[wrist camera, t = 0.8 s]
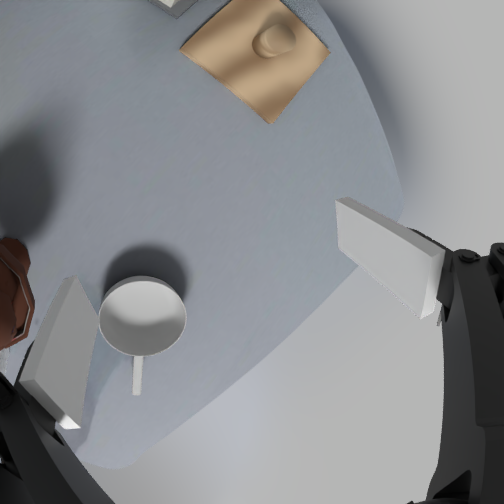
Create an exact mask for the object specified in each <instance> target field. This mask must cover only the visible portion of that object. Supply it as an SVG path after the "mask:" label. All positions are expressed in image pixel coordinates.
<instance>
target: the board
mask: <svg viewBox="0 0 504 504" xmlns="http://www.w3.org/2000/svg"><path fill="white" fill-rule="evenodd" d="M277 24H281V25H285V26H287V27H289V28H290V29H291V30H292V31H293V32H294V34H295V37H296V44H295V47H294V48H293V49H292V50H290V51H287V52H285V53H282V54H280V55H277V56H275V57H272V58H269V59H265V58H261V57H259V56H258V55H257V54H256V53H255V52H254V50H253V48H252V41H253V39H254V37H255V36H257V35H258V34H260V33H262V32H264V31H265V30H267V29H269V28H271V27H272V26H274V25H277ZM179 51H180V52H181V53H183V54H184V55H186V56H187V57H188V58H190V59H191V60H192V61H194V62H195V63H196V64H198V65H199V66H200V67H202V68H203V69H204V70H205V71H207V72H208V73H209V74H210V75H212V76H213V77H214V78H216V79H217V80H218V81H219V82H220V83H222V84H223V85H224V86H225V87H227V88H228V89H229V90H230V91H231V92H233V93H234V94H235V95H236V96H237V97H239V98H240V99H241V100H242V101H243V102H244V103H246V104H247V105H248V106H249V107H250V108H251V109H253V110H254V111H255V112H256V113H257V114H258V115H259V116H260V117H262V118H263V119H264V120H265V121H266V122H267V123H268V124H269V123H274V121H275V120H276V119H277V118H278V116H279V115H280V114H281V112H282V111H283V110H284V109H285V107H286V106H287V105H288V104H289V102H290V101H291V100H292V99H293V97H294V96H295V95H296V94H297V92H298V91H299V90H300V89H301V87H302V86H303V85H304V84H305V83H306V81H307V80H308V79H309V78H310V76H311V75H312V74H313V73H314V72H315V70H316V69H317V68H318V67H319V66H320V65H321V63H322V62H323V61H324V60H325V59H326V57H327V56H328V55H329V54H330V53H331V52H330V51H329V50H328V49H327V48H326V47H325V46H324V45H323V43H322V42H321V41H320V40H319V39H318V38H317V37H316V36H315V35H314V34H313V33H312V32H311V31H310V30H309V29H308V28H307V26H306V25H305V24H304V23H303V22H302V21H301V20H300V19H299V18H298V17H297V16H295V15H294V14H293V13H292V12H291V11H290V10H289V9H288V8H287V7H286V6H285V5H284V4H283V3H282V2H281V1H279V0H232V1H231V2H230V3H229V4H228V5H226V6H225V7H224V8H223V9H222V10H221V11H219V12H218V13H217V14H216V15H215V16H214V17H213V18H211V19H210V20H209V21H208V22H207V23H206V24H205V25H204V26H203V27H202V28H201V29H200V30H199V31H198V32H197V33H196V34H194V35H193V36H192V37H191V38H190V39H189V40H188V41H187V42H186V43H185V44H184V46H183V47H182V48H181V49H180V50H179Z"/></svg>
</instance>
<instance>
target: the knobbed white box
mask: <svg viewBox="0 0 504 504" xmlns="http://www.w3.org/2000/svg"><path fill="white" fill-rule="evenodd" d="M159 1H161V2H163V3H164V4H166V5H167V6H169V7H170V8H171V7H172V6H173V5H175V4H176V3H177V2H178V1H179V0H159Z"/></svg>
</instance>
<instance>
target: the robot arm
mask: <svg viewBox="0 0 504 504" xmlns="http://www.w3.org/2000/svg"><path fill="white" fill-rule="evenodd" d="M335 202H336V215H337V231H338V249H340V250H341V251H342V252H343V253H345V254H346V255H347V256H348V257H349V258H351V259H352V260H353V261H354V262H355V263H357V264H358V265H359V266H360V267H361V268H363V269H364V270H365V271H366V272H367V273H368V274H370V275H371V276H372V277H373V278H374V279H376V280H377V281H378V282H379V283H380V284H381V285H382V286H384V287H385V288H386V289H387V290H388V291H389V292H390V293H392V294H393V295H394V296H395V297H396V298H397V299H398V300H399V301H401V302H402V303H403V304H404V305H405V306H406V307H407V308H408V309H410V310H411V311H412V312H413V313H414V314H415V315H416V316H417V317H418V318H419V319H422V318H424V317H425V316H427V315H429V314H431V313H432V312H433V311H434V308H435V303H436V299H437V300H438V301H440V302H441V303H442V307H441V311H440V315H439V318H438V322H437V326H439V325H440V322H441V321H442V334H443V351H444V404H443V405H444V406H443V421H442V433H441V443H440V452H439V459H438V465H437V468H436V471H435V473H434V475H433V477H432V479H431V482H430V485H429V488H428V492H427V497H426V501H422V502H419V503H415V504H504V243H494V244H492V245H491V249H490V254H489V255H488V256H483V257H481V256H480V255H478V254H477V253H476V252H474V251H471V250H466V249H459V250H456V251H454V252H453V251H451V250H450V249H448V248H446V247H445V246H443V245H441V244H440V243H438V242H436V241H435V240H432V239H431V238H430V237H428V236H425V235H424V234H422V233H421V232H419V231H417V230H414V229H410V228H407V227H404V226H403V225H401V224H399V223H397V222H395V221H394V220H392V219H390V218H388V217H386V216H384V215H383V214H381V213H379V212H377V211H375V210H373V209H371V208H369V207H367V206H365V205H363V204H361V203H359V202H357V201H355V200H353V199H351V198H349V197H345V198H341V199H337V200H335ZM99 321H100V319H99V318H98V316H97V314H96V312H95V310H94V308H93V307H92V305H91V303H90V301H89V299H88V297H87V295H86V293H85V291H84V289H83V288H82V286H81V284H80V282H79V279H78V277H77V275H75V276H72V277H69V278H66V279H64V280H63V282H62V284H61V286H60V288H59V290H58V292H57V294H56V296H55V298H54V300H53V302H52V304H51V306H50V308H49V310H48V312H47V314H46V316H45V318H44V320H43V323H42V325H41V327H40V329H39V332H38V334H37V336H36V339H35V340H34V341H33V342H32V344H31V345H30V346H29V348H28V350H27V352H26V355H25V359H24V360H23V362H22V366H21V367H20V370H19V373H18V375H17V378H16V381H15V384H14V387H13V386H12V384H11V383H10V382H9V381H8V380H7V379H6V377H5V376H4V375H3V374H2V372H0V458H1V463H0V504H115V503H114V502H113V501H112V500H111V499H110V497H108V495H107V494H106V493H105V492H104V491H103V490H102V488H101V487H100V486H99V485H98V484H97V483H96V481H95V480H94V479H93V478H92V476H91V475H90V474H89V473H88V471H87V470H86V469H85V468H84V466H83V465H82V464H81V462H80V461H79V460H78V458H77V457H76V456H75V454H74V453H73V452H72V450H71V449H70V447H69V446H68V444H67V443H66V441H65V440H64V439H63V437H62V436H61V434H60V433H59V432H58V431H57V430H56V429H55V422H56V421H57V422H58V423H59V424H60V425H61V426H62V427H63V428H65V429H74V428H81V421H82V413H83V405H84V398H85V391H86V385H87V379H88V373H89V368H90V363H91V358H92V353H93V348H94V343H95V339H96V334H97V330H98V326H99ZM407 504H414V503H413V501H411V502H409V503H407Z"/></svg>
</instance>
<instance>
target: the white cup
mask: <svg viewBox="0 0 504 504" xmlns="http://www.w3.org/2000/svg"><path fill="white" fill-rule="evenodd" d="M8 357H9V347H8V348H7V349H5V348H4V349H3V350H1V351H0V372H2V374H3V375H4V376H5V374H6V369H7V362H8Z"/></svg>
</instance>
